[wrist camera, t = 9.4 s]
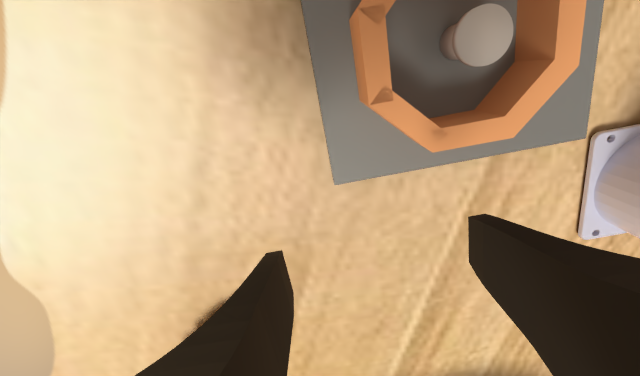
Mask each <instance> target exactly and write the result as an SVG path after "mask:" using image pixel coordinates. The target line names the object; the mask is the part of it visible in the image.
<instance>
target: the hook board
mask: <svg viewBox="0 0 640 376" xmlns="http://www.w3.org/2000/svg"><path fill="white" fill-rule="evenodd" d="M360 2H361V0H301V5H302V10H303V16H304V21H305V27H306V32H307V38H308V43H309V49H310V54H311V60H312V65H313V71H314V76H315V82H316V87H317V92H318V98H319V103H320V109H321V114H322V120H323V125H324V131H325V136H326V142H327V147H328V153H329V158H330V164H331V169H332V175H333V180H334V185H339V184H344V183H349V182H355V181H360V180H365V179H371V178H376V177H381V176H387V175H392V174H398V173H403V172H408V171H414V170H419V169H424V168H430V167H435V166H440V165H446V164H451V163H456V162H462V161H467V160H472V159H478V158H483V157H488V156H494V155H499V154H505V153H510V152H515V151H521V150H526V149H531V148H537V147H542V146H547V145H553V144H558V143H563V142H569V141H574V140H579V139H585V138H586V134H587V126H588V119H589V111H590V104H591V96H592V88H593V81H594V73H595V65H596V58H597V50H598V43H599V35H600V27H601V20H602V12H603V4H604V0H587V1H586V10H585V18H584V27H583V36H582V44H581V53H580V61H579V66H578V67H577V68H576V69H575V70H574V72H573V73H572V74H571V75H570V76H569V77H568V78H567V79H566V80H565V81H564V83H563V84H562V85H561V86H560V87H559V88H558V89H557V90H556V91H555V93H554V94H553V95H552V96H551V97H550V98H549V99H548V100H547V101H546V102H545V104H544V105H543V106H542V107H541V108H540V109H539V110H538V111H537V112H536V113H535V115H534V116H533V117H532V118H531V119H530V120H529V121H528V122H527V123H526V125H525V126H524V127H523V128H522V129H521V130H520V131H519V132H518V133H517V134H516V136H515V137H514V138H510V139H504V140H499V141H493V142H488V143H482V144H477V145H472V146H466V147H461V148H455V149H450V150H444V151H439V152H434V153H432V152H431V151H429V150H427V149H426V148H424V147H423V146H421V145H420V144H418V143H416V142H415V141H413V140H412V139H411V138H409V137H408V136H407V135H405V134H404V133H403V132H401V131H400V130H399V129H397V128H396V127H395V126H393V125H392V124H390V123H389V122H388V121H386V120H385V119H384V118H382V117H381V116H380V115H378V114H377V113H376V112H374V111H373V110H372V109H370V108H369V107H368V106H366V105H365V104H364V103H362V102H361V101H360V100H359V93H358V85H357V77H356V70H355V62H354V54H353V47H352V39H351V31H350V24H349V19H350V18H351V16H352V15H353V13H354V11H355V10H356V8H357V7H358V5H359V4H360ZM385 18H386V29H387V39H388V50H389V61H390V72H391V83H392V91H393V92H395V93H396V94H397V95H399V96H400V97H401V98H403V99H404V100H405V101H406V102H408V103H409V104H410V105H412V106H413V107H414V108H415V109H417V110H418V111H419V112H421V113H422V114H423V115H424V116H426V117H427V118H433V117H439V116H444V115H449V114H455V113H460V112H465V111H471V110H475V108H476V107H477V106H478V105H479V104H480V102H481V101H482V100H483V99H484V98H485V96H486V95H487V94H488V93H489V92H490V91H491V89H492V88H493V87H494V86H495V85H496V83H497V82H498V81H499V80H500V79H501V77H502V76H503V75H504V74H505V73H506V71H507V70H508V69H509V68H510V67H511V65H512V64H513V63H514V62H515V43H516V21H517V0H396V1H395V2H394V4H393V5H392V7H391V8H390V10H389V11H388V13H387V14H386V16H385Z"/></svg>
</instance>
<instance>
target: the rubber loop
mask: <svg viewBox="0 0 640 376" xmlns="http://www.w3.org/2000/svg"><path fill="white" fill-rule="evenodd" d="M395 1H396V0H361V2H360V4H359V5H358V7H357V8H356V10H355V11H354V13H353V15H352V16H351V18H350V19H349V24H350V31H351V39H352V47H353V54H354V62H355V70H356V77H357V85H358V93H359V100H360V101H361V102H362V103H364V104H365V105H366V106H368V107H369V108H370V109H372V110H373V111H374V112H376V113H377V114H378V115H380V116H381V117H382V118H384V119H385V120H386V121H388V122H389V123H390V124H392V125H393V126H395V127H396V128H397V129H399V130H400V131H401V132H403V133H404V134H405V135H407V136H408V137H409V138H411V139H412V140H413V141H415V142H416V143H418V144H420V145H421V146H423V147H424V148H426V149H427V150H429V151H431V152H432V153H434V152H439V151H444V150H450V149H455V148H461V147H466V146H472V145H477V144H482V143H488V142H493V141H499V140H504V139H510V138H514V137H515V136H516V134H517V133H518V132H519V131H520V130H521V129H522V128H523V127H524V126H525V125H526V123H527V122H528V121H529V120H530V119H531V118H532V117H533V116H534V115H535V113H536V112H537V111H538V110H539V109H540V108H541V107H542V106H543V105H544V104H545V102H546V101H547V100H548V99H549V98H550V97H551V96H552V95H553V94H554V93H555V91H556V90H557V89H558V88H559V87H560V86H561V85H562V84H563V83H564V81H565V80H566V79H567V78H568V77H569V76H570V75H571V74H572V73H573V72H574V70H575V69H576V68H577V67H578V66H579V61H580V53H581V44H582V36H583V27H584V18H585V10H586V1H587V0H517V21H516V43H515V62H514V63H513V64H512V65H511V67H510V68H509V69H508V70H507V71H506V73H505V74H504V75H503V76H502V77H501V79H500V80H499V81H498V82H497V83H496V85H495V86H494V87H493V88H492V89H491V91H490V92H489V93H488V94H487V95H486V96H485V98H484V99H483V100H482V101H481V102H480V104H479V105H478V106H477V107H476V108H475V110H471V111H465V112H460V113H455V114H449V115H444V116H439V117H433V118H427V117H426V116H424V115H423V114H422V113H421V112H419V111H418V110H417V109H415V108H414V107H413V106H412V105H410V104H409V103H408V102H406V101H405V100H404V99H403V98H401V97H400V96H399V95H397V94H396V93H395V92H393V91H392V83H391V72H390V61H389V50H388V39H387V29H386V18H385V16H386V14H387V13H388V11H389V10H390V8H391V7H392V5H393V4H394V2H395Z"/></svg>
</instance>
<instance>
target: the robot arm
mask: <svg viewBox="0 0 640 376" xmlns="http://www.w3.org/2000/svg"><path fill="white" fill-rule="evenodd" d="M609 136H610V137H609ZM608 137H609V139H608V140H607V138H608ZM468 222H469V263H470V265H471V266H472V268H473V270H474V271H475V273H476V275H477V276H478V278H479V279H480V281H481V283H482V284H483V285H484V287H485V288H486V289H487V290H488V292H489V293H490V294H491V295H492V297H493V298H494V299H495V300H496V302H497V303H498V304H499V305H500V306H501V308H502V309H503V310H504V311H505V312H506V314H507V315H508V316H509V317H510V318H511V320H512V321H513V322H514V323H515V324H516V326H517V327H518V328H519V329H520V330H521V332H522V333H523V334H524V335H525V337H526V338H527V339H528V340H529V342H530V343H531V344H532V346H533V347H534V348H535V350H536V351H537V353H538V354H539V356H540V357H541V359H542V360H543V362H544V363H545V365H546V366H547V367H548V369H549V370H550V372H551V373H552V375H553V376H640V258H636V257H631V256H626V255H621V254H617V253H613V252H609V251H604V250H600V249H596V248H592V247H588V246H584V245H581V244H577V243H574V242H571V241H567V240H564V239H560V238H557V237H554V236H551V235H548V234H545V233H542V232H539V231H536V230H533V229H530V228H527V227H524V226H521V225H518V224H516V223H513V222H510V221H507V220H504V219H501V218H498V217H495V216H491V215H487V214H481V215H476V216H470V217H468ZM593 231H594V232H593ZM623 233H629V234H631V235H633V236H635V237H637V238H639V239H640V124H637V125H632V126H627V127H621V128H616V129H611V130H605V131H600V132H597V133H595V134H594V135H593V136H592V138H591V142H590V149H589V156H588V163H587V171H586V178H585V185H584V193H583V200H582V207H581V214H580V222H579V229H578V236H579V237H581V238H582V239H584V240H589V239H594V238H600V237H606V236H611V235H617V234H623ZM293 318H294V297H293V289H292V286H291V282H290V278H289V275H288V271H287V267H286V264H285V260H284V256H283V252H282V250H281V251H276V252H270V253H266V254H265V256H264V257H263V258H262V259H261V261H260V262H259V263H258V265H257V266H256V267H255V268H254V270H253V271H252V272H251V274H250V275H249V276H248V277H247V279H246V280H245V281H244V282H243V283H242V285H241V286H240V287H239V288H238V289H237V290H236V291H235V293H234V294H233V295H232V296H231V297H230V298H229V299H228V300H227V302H226V303H225V304H224V305H223V306H222V307H221V308H220V309H219V310H218V311H217V312H216V313H215V314H214V315H213V316H212V317H211V318H210V319H208V320H207V321H206V322H205V323H204V324H203V325H202V326H201V327H200V328H199V329H197V330H196V331H195V332H194V333H192V334H191V335H190V336H189V337H188V338H186V339H185V340H184V341H183V342H181V343H180V344H179V345H178V346H176V347H175V348H174V349H173V350H171V351H170V352H168V353H167V354H166V355H164V356H163V357H162V358H160V359H159V360H157V361H156V362H154V363H153V364H152V365H150V366H149V367H147V368H146V369H144V370H143V371H141V372H140V373H138V374H137V375H135V376H287V369H288V361H289V353H290V344H291V336H292V327H293Z"/></svg>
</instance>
